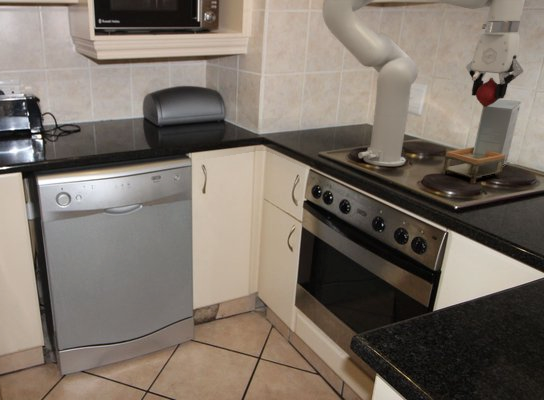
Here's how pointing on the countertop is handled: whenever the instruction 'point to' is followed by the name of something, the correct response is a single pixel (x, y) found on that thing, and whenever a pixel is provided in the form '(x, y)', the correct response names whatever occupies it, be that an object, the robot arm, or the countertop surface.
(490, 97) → the onion
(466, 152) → the rack
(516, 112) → the hard drive box
